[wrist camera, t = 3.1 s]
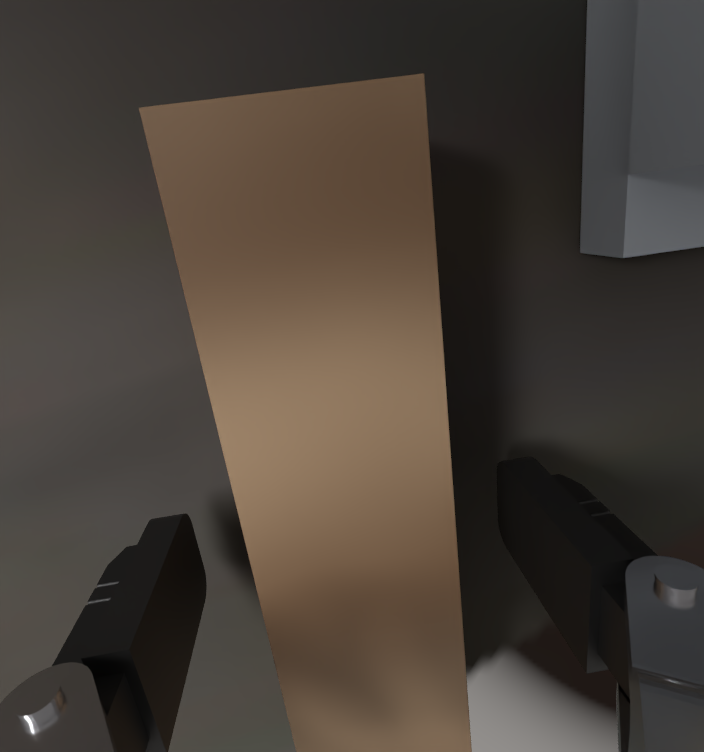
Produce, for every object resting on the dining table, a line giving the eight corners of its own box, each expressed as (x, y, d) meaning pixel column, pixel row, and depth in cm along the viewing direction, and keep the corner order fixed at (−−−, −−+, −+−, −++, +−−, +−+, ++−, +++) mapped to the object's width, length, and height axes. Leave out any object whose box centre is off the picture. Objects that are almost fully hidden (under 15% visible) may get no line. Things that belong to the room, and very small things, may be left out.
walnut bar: (201, 151, 9) (137, 107, 6) (374, 129, 10) (424, 73, 6) (321, 718, 15) (330, 891, 11) (432, 695, 15) (478, 857, 11)
